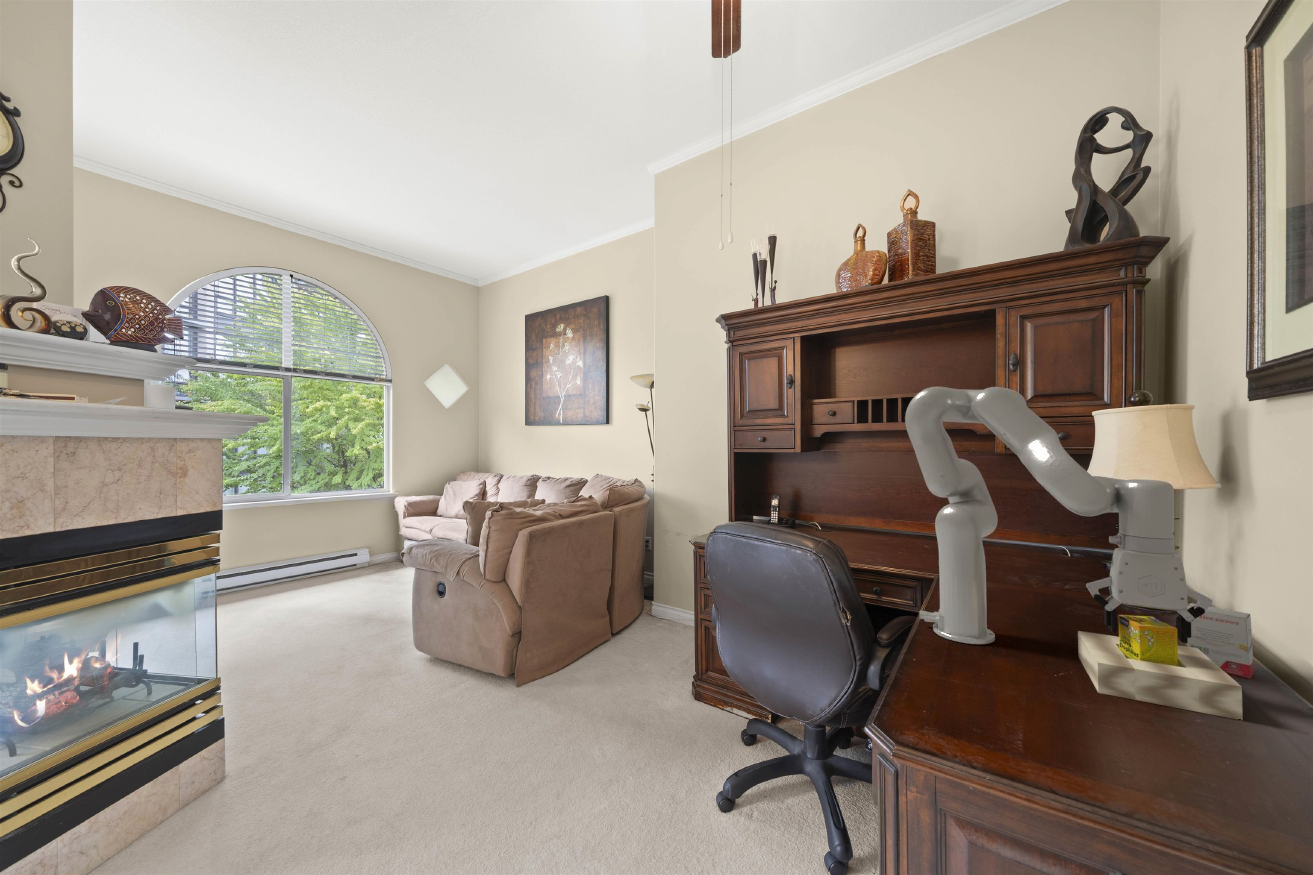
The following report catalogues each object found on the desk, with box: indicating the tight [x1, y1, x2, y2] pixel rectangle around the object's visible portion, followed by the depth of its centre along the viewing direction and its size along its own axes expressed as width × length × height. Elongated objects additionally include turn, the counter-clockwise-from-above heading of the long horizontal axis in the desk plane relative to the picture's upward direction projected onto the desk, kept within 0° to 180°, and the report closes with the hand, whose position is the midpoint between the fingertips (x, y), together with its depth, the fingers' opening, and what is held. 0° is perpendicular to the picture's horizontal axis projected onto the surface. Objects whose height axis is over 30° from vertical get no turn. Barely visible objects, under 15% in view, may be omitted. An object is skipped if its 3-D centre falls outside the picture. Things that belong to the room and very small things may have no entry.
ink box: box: [1185, 602, 1254, 679], centre depth 101 cm, size 9×5×12 cm, turn 33°
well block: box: [1077, 630, 1243, 721], centre depth 94 cm, size 18×18×6 cm
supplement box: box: [1118, 614, 1179, 666], centre depth 94 cm, size 6×6×11 cm
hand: (1146, 635), depth 95 cm, fingers open, 9 cm apart
